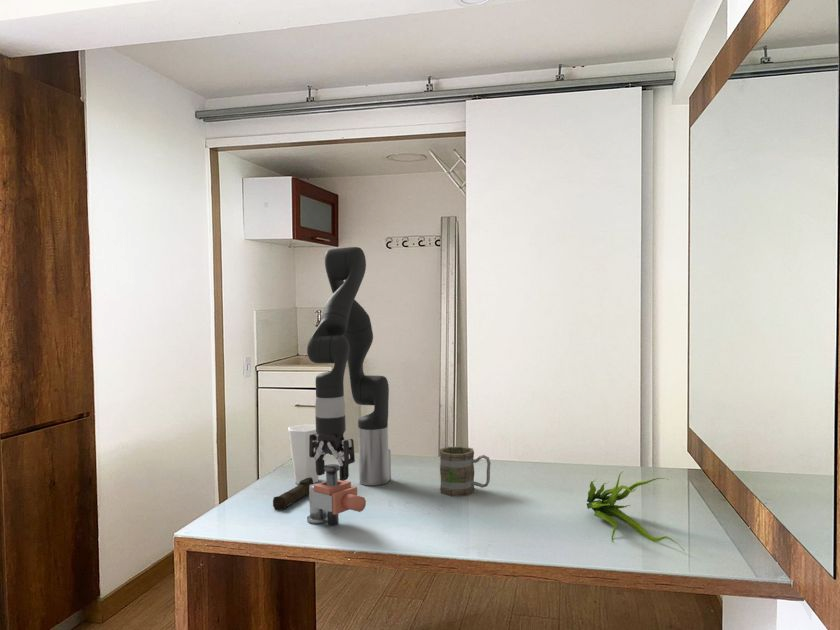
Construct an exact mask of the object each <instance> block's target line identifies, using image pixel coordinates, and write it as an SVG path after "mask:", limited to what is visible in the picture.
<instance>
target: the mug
mask: <svg viewBox="0 0 840 630" xmlns="http://www.w3.org/2000/svg"><path fill="white" fill-rule="evenodd" d="M439 456H440V457H439V458H440V459H439V460H440V461H439V473H440V474H439V475H440V487H439V491H440V492H439V493H440V494H442V495H445V496H449V497H466V496H469V495H472V494H475V493H476V492H475V491H476V490H475V486H476V487H479V488H481V489H482V488H485V487H486V488H487V487H488V486H489V484H490V480H491V479H490V478H491V460H490V457H489V456H487V455H485V454H483V455H479V456H478V457H476V459H474V457H475V450H474V448H471V447H468V446H462V445H461V446H447V447H444V448H443V447H442V448H440V449H439ZM481 459H485V460H486V464H487V467H486V481H485V483H481V482H478V481H475V479H474V478H475V466H474V465H475V464H476V463H479V462H480V461H481Z"/></svg>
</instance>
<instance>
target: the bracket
mask: <svg viewBox="0 0 840 630" xmlns="http://www.w3.org/2000/svg"><path fill="white" fill-rule="evenodd" d="M337 480H338V485H336V486H333V487H331V486H327V483H326V480H325V481H323V482H319V484H316V483H314V484H315V485H313V491H315V492H319V493H323V494H327V495H331V494H332V505H333V514H335V515H336V514H338V515H339V514H341V513H344V512H347V511H349V510H352V511H354V512H358V513H361V512H363V510H365V507H366V506H367V505H366V504H367V500H366V498H365V497H364V496H361V495H358V487H357V486H352V481H349V480H344V481H341V480H340V478H337Z"/></svg>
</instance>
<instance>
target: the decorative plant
mask: <svg viewBox="0 0 840 630" xmlns="http://www.w3.org/2000/svg"><path fill="white" fill-rule="evenodd" d="M621 474H623V471H621V472H620V473H619V475H618V478H617V481H616V484H615V486H614V487H613V488H609V489H605V485H606V484H608V482H604V483H603V484H602V485H600V489H597V488H596V486H595V484H594V482H595V481H596V479H597V478H595V480H591V481H590V483H589V490H588V492H587V499H586V502H587V503H586V508H587V509H592V511H593V512H594V513H593V516H595V517H597V518H600V519H602V520H604V521H606V522H608V523H609V524H610V525H612V527H613V528H612V533H611V539H610V540H611V542H612V543H615V541H614V536H615V532H616V530H617V527H618V523H617V521H616V520H615V519H614V518H617V519H618V520H620V521H622V522H624V523H625V524H626V525H628V526H629V527H630V528H632V529H633V530H635V531H636V532H637V533H638V534H640V535H641V536H643V537H644V538H646V539H647V540H649V541H652V542H661V541H662V540H665V539H668V540H670V541H671V542H674V543H675V544H677V545H678V546H679V547H680V548H681V549H682V550H683V552H685V549H684V548H683V547H682V546H681V545H680V544H679V543H678V542H677V541H675V540H674V539H672V538H671V537H669V536H666V535H664V536H661V537H658V536H657V537H656V536H652V535H650V534H649V533H648V532H647V530H646V529H645V528H644V527H643V526H642V525H641V524H640V523H639V522H637V521H636V520H635V519H633V518H632V517H631V516H629V515H628V514H626V513H625V512H624V511H622V510H621V509H624V508H627V507H631V505H630V504H628V505H619V504H618V505H617V504H616V503H617V501H621V500H624V499H625V498H627V497H628V496H629V495H630V494H631V493H633V492H635V491H636V489H637V488H638V487H639V486H642V485H646V484H649V483H651V482H653V481H656V480H663V479H665V480H666V478H664V477H663V478H662V477H656V478H653V479H652V478H651V479H649V480H645V481H636V482H635V483H633V484H632V485H630V486H629V487H628V486H627V485H624V484H622V485H619V483H620V478H621ZM667 480H669V478H667ZM623 489H624V490H623ZM622 490H623V492H622ZM620 492H621V493H620ZM596 499H597V500H596Z"/></svg>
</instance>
